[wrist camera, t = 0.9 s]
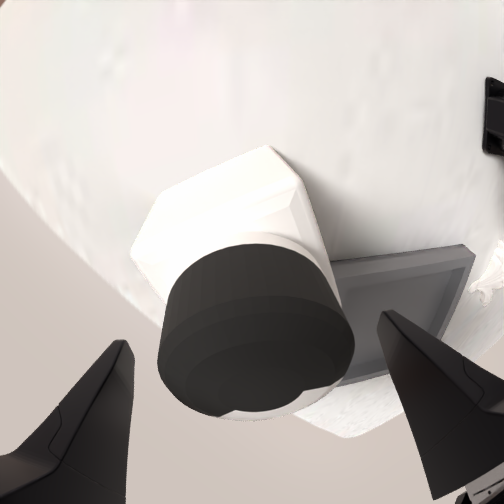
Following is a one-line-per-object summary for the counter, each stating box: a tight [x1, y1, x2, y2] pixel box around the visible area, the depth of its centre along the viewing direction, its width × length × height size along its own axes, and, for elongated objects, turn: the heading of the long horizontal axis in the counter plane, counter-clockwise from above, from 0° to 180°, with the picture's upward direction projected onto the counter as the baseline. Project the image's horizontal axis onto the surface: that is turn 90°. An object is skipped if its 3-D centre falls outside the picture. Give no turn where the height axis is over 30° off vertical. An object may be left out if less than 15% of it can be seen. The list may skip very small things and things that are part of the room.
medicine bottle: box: [130, 145, 355, 421], centre depth 13 cm, size 7×7×12 cm
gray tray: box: [330, 244, 476, 387], centre depth 23 cm, size 14×14×2 cm
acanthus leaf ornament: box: [468, 240, 504, 307], centre depth 24 cm, size 8×7×2 cm
